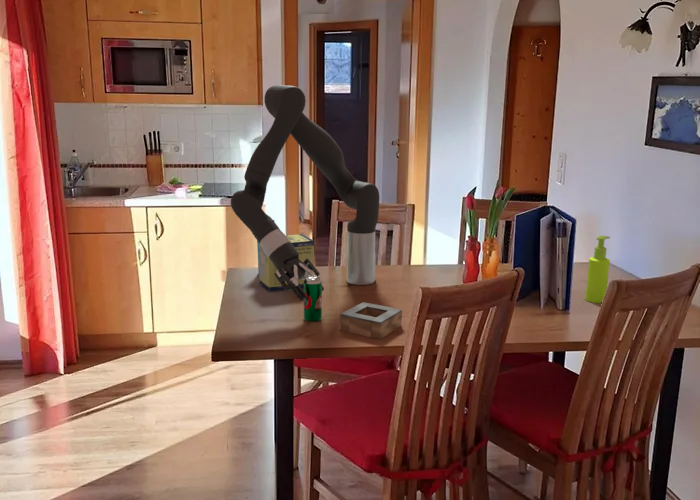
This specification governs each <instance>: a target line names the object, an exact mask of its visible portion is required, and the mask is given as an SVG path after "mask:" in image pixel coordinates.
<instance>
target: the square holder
mask: <svg viewBox="0 0 700 500" xmlns="http://www.w3.org/2000/svg"><path fill="white" fill-rule="evenodd" d="M402 313H403V310H402V309H399V308H395V307H391V306H385V305H381V304H380V305H379V304H377V303H370V302H369V303H368V302H364V301H363V302H360V303H359V304H357V305H355V306H353V307H351V308H349V309H347V310H345V311H343V312H341V313H340V329H339V330H340V331H343V332H347V333H352V334H356V335H360V336H364V337H368V338H373V339H378V340H382V339H383V338H385V337H386V336H388V335H389V334H391V333H393V331H396V330H397V329H399V328H400V327H402V323H403V322H402V319H403V318H402V317H403V314H402ZM395 329H396V330H395Z"/></svg>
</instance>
